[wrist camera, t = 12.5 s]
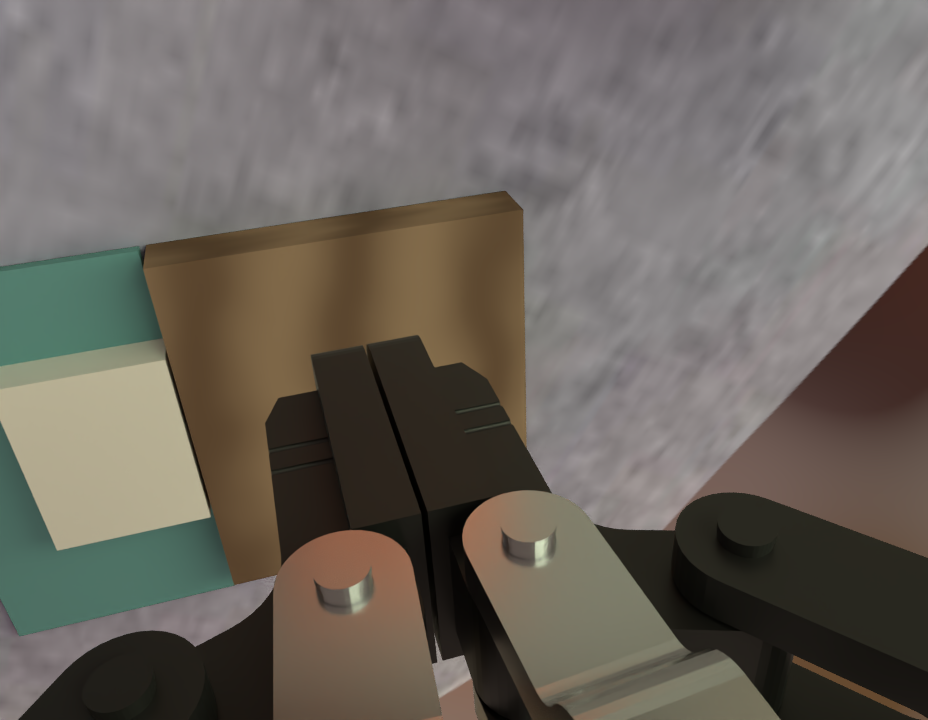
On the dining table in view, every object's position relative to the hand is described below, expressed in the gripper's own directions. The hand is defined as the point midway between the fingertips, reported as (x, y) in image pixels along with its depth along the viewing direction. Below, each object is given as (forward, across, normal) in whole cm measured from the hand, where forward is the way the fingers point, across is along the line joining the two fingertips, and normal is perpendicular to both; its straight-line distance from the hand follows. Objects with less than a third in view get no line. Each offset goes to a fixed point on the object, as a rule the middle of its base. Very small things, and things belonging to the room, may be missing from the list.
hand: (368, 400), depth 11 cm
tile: (+24, +10, +16) cm, 31 cm away
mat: (+25, +12, +17) cm, 32 cm away
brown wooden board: (+25, -2, +16) cm, 30 cm away
